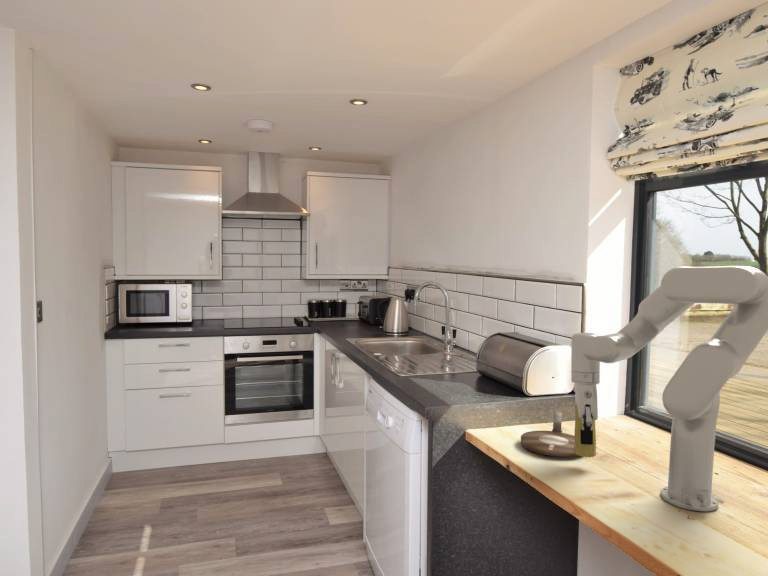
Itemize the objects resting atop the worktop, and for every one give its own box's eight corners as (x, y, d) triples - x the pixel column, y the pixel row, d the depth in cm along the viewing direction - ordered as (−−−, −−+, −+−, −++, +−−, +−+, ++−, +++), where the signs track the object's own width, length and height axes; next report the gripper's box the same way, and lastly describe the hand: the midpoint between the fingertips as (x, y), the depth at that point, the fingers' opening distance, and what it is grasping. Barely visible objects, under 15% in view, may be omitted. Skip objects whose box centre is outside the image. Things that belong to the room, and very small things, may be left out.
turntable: (591, 459, 162) (593, 434, 162) (521, 452, 166) (522, 428, 166) (581, 436, 184) (582, 413, 184) (519, 430, 189) (520, 408, 188)
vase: (574, 456, 155) (574, 405, 154) (572, 449, 161) (572, 400, 160) (597, 458, 153) (598, 406, 153) (594, 451, 159) (595, 401, 159)
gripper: (604, 383, 147) (604, 451, 148) (594, 372, 164) (594, 433, 165) (575, 382, 149) (574, 449, 149) (568, 371, 166) (567, 431, 166)
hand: (584, 440), depth 157 cm, fingers closed on vase, 5 cm apart
